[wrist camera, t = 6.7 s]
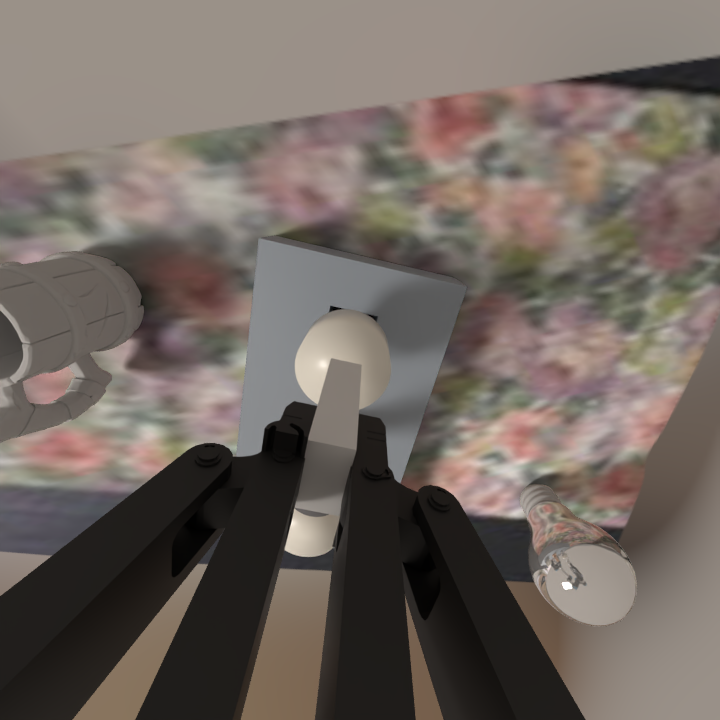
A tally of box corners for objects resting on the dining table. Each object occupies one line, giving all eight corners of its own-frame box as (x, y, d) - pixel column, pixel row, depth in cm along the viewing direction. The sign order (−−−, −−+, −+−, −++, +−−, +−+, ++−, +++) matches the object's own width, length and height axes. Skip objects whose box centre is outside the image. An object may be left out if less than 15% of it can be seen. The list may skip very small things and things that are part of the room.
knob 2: (308, 355, 26) (288, 401, 19) (320, 288, 24) (302, 313, 17) (376, 370, 26) (378, 419, 20) (393, 304, 24) (402, 335, 18)
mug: (139, 253, 27) (-26, 277, 15) (162, 389, 31) (46, 483, 20) (41, 245, 27) (-195, 264, 15) (77, 382, 31) (-85, 473, 20)
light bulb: (515, 524, 36) (579, 661, 25) (482, 481, 34) (537, 609, 23) (578, 495, 34) (678, 627, 23) (549, 448, 32) (642, 568, 21)
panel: (243, 496, 36) (228, 528, 32) (274, 235, 26) (258, 237, 22) (375, 521, 36) (375, 555, 33) (454, 277, 27) (467, 286, 23)
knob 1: (288, 488, 35) (269, 550, 28) (295, 446, 33) (277, 503, 26) (338, 498, 35) (331, 561, 28) (349, 457, 33) (344, 515, 26)
